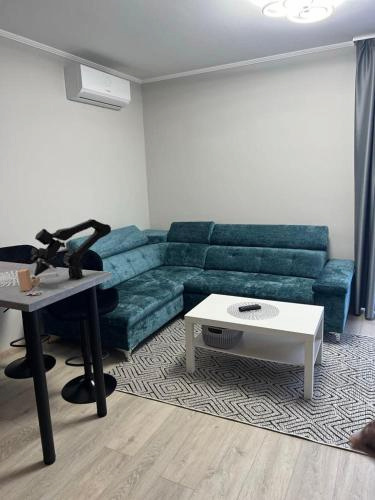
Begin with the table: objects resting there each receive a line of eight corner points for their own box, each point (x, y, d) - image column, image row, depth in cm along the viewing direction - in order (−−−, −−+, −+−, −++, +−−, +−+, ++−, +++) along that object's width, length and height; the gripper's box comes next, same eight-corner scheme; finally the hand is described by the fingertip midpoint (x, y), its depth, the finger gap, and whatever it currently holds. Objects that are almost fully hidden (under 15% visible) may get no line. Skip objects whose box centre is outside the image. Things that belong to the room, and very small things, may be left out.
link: (31, 283, 198) (28, 265, 196) (40, 282, 198) (37, 264, 196) (19, 291, 184) (16, 271, 182) (29, 290, 184) (26, 271, 182)
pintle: (42, 282, 198) (41, 275, 197) (35, 286, 192) (34, 278, 191) (32, 282, 199) (31, 275, 198) (25, 286, 193) (24, 278, 193)
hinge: (26, 281, 204) (23, 263, 206) (26, 281, 209) (24, 264, 210) (57, 276, 210) (54, 259, 211) (57, 277, 215) (55, 260, 216)
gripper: (31, 240, 193) (14, 265, 188) (48, 242, 181) (30, 269, 175) (48, 251, 201) (31, 276, 195) (65, 254, 188) (48, 281, 182)
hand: (35, 275), depth 187 cm, fingers closed
